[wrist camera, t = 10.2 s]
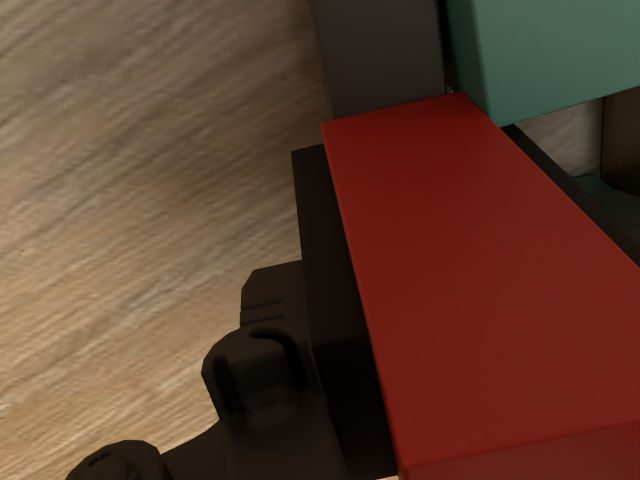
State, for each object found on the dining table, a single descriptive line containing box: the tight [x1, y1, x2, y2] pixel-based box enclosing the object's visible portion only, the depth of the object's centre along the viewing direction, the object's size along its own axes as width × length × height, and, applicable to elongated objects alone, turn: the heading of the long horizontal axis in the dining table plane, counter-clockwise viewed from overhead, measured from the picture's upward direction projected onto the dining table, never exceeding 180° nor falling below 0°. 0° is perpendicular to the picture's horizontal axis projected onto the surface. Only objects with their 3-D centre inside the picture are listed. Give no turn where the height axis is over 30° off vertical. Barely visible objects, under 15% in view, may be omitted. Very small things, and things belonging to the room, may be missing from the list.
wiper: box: [306, 0, 640, 480], centre depth 11 cm, size 3×14×11 cm, turn 12°
